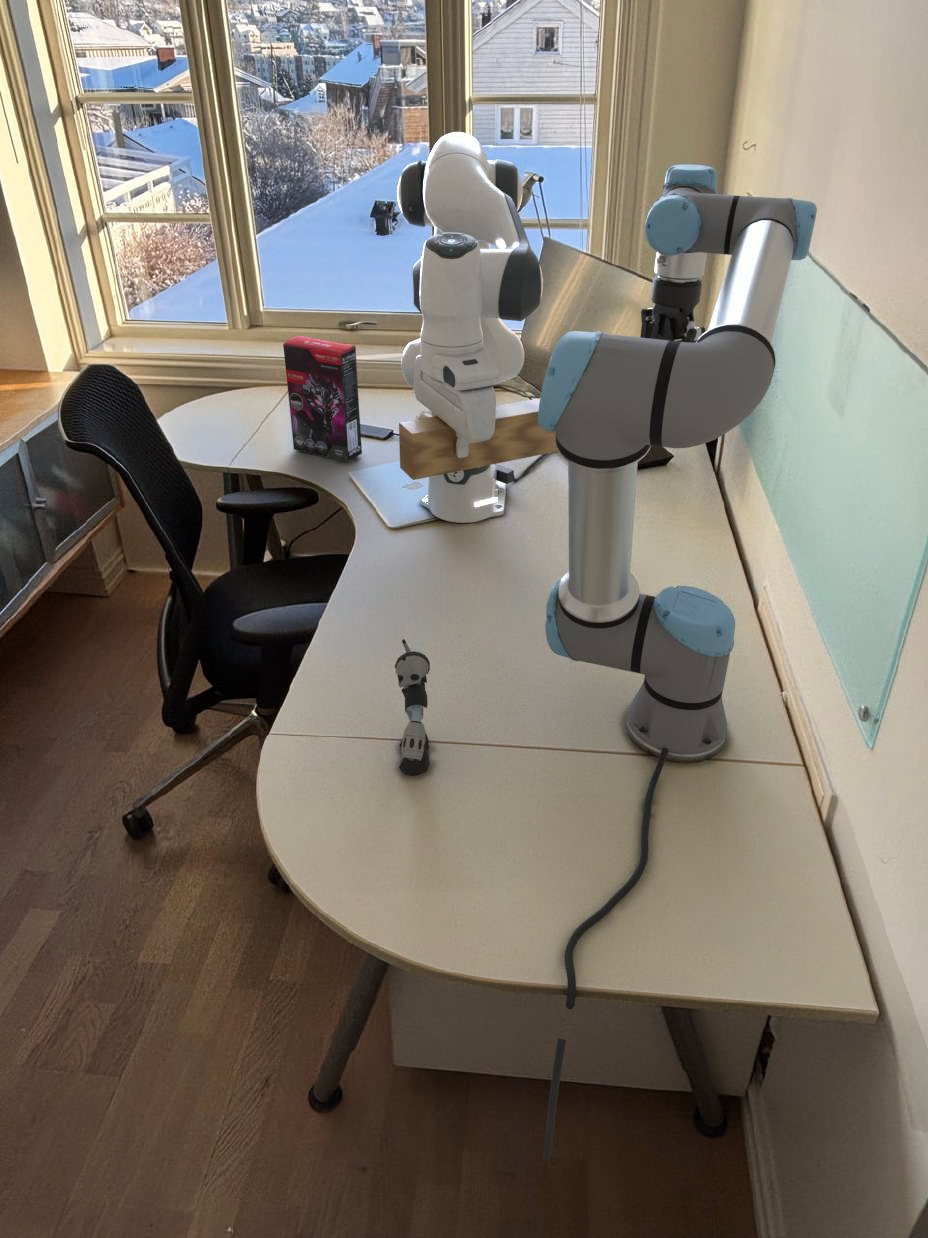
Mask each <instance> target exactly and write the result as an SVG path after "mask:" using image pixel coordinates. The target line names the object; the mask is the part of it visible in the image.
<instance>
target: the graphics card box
mask: <svg viewBox="0 0 928 1238" xmlns="http://www.w3.org/2000/svg"><path fill="white" fill-rule="evenodd" d="M282 346H283V355H284V365H285V374H286V375H285V376H286V383H287V384H286V386H287V394H288V405H289V414H290V423H291V425H290V427H291V436H292V444H293V445H292V447H293V451H294V450H296V451H299V452H304V453H307V454H312V455H315V456H316V455H317V456H321V457H325V458H329V459H332V460H338V461H342V462H346V463H349V462H351V461H352V460H354V459H355V458H357V457H358V456H361V455H362V453H363V447H362V431H361V429H362V428H361V416H360V415H361V414H360V402H359V401H360V400H359V384H358V367H357V366H358V364H357V347H356V345H355V344H346V343H340V342H335V341H329V340H324V339H319V338H313V337H309V336H304V335H296V336H292V337H291V338H289V339H288V340H286V341H285V342H284V343H283V344H282Z"/></svg>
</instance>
